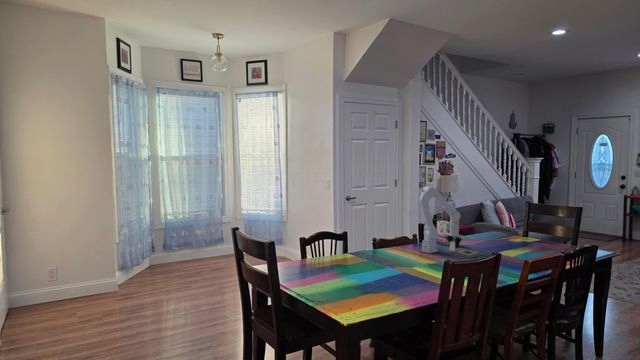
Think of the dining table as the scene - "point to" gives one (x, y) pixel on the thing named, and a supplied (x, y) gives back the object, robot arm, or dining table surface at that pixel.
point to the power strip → (465, 253)
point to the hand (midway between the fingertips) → (453, 247)
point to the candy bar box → (442, 232)
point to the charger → (452, 245)
